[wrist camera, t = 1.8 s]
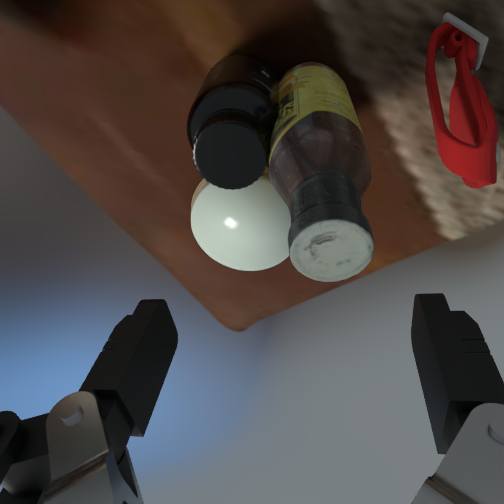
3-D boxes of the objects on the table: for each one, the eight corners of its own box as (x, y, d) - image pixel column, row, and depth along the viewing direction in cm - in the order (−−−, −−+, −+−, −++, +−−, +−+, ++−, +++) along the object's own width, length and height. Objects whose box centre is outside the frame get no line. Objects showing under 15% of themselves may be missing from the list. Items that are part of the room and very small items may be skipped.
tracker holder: (474, 156, 35) (520, 213, 27) (420, 167, 36) (449, 226, 28) (472, 0, 28) (532, 14, 20) (407, 21, 29) (439, 42, 21)
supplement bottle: (299, 98, 34) (306, 162, 25) (242, 147, 37) (229, 220, 28) (245, 31, 31) (230, 76, 22) (187, 91, 34) (153, 152, 25)
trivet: (300, 155, 37) (298, 166, 35) (309, 258, 43) (309, 272, 41) (179, 167, 39) (172, 177, 37) (206, 262, 46) (201, 276, 44)
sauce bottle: (275, 56, 31) (269, 178, 16) (353, 61, 31) (422, 188, 16) (269, 134, 36) (260, 291, 20) (338, 139, 35) (381, 300, 20)
